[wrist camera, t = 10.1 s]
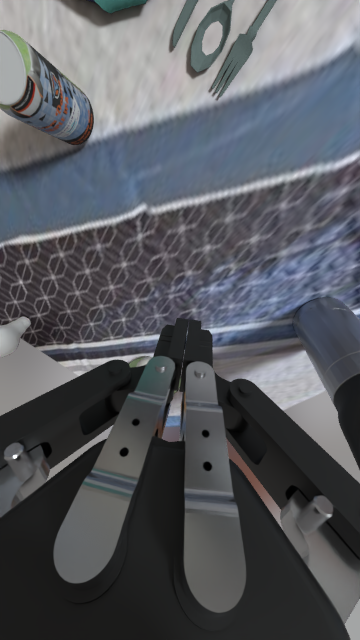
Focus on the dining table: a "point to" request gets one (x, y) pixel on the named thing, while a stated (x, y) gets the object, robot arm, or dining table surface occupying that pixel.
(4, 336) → the lightbulb
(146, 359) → the white ball
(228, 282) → the dining table surface
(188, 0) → the cutlery set
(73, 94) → the beverage can
